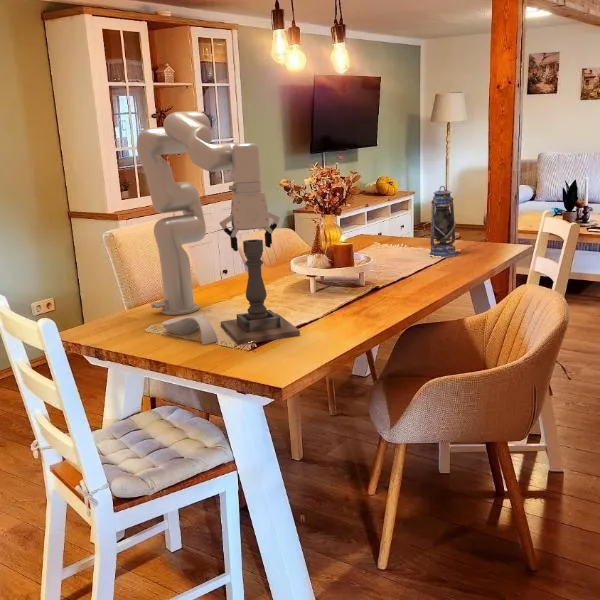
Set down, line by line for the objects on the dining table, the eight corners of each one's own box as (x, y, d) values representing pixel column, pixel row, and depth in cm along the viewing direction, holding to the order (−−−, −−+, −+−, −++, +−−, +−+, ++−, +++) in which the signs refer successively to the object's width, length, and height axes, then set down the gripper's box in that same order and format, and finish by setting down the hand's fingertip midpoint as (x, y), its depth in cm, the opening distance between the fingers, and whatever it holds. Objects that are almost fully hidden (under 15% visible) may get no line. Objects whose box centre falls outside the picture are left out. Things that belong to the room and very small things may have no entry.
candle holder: (270, 322, 205) (265, 238, 199) (267, 328, 199) (261, 242, 193) (249, 322, 206) (243, 239, 200) (245, 328, 200) (240, 243, 194)
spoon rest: (157, 332, 208) (154, 309, 207) (192, 324, 215) (189, 302, 213) (192, 349, 190) (190, 324, 188) (229, 339, 196) (227, 315, 194)
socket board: (238, 345, 190) (236, 329, 188) (220, 326, 210) (219, 311, 209) (300, 335, 195) (299, 320, 194) (277, 317, 215) (276, 303, 214)
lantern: (444, 251, 311) (443, 184, 304) (465, 254, 301) (465, 184, 294) (420, 256, 302) (418, 187, 295) (441, 259, 292) (440, 188, 285)
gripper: (220, 191, 187) (225, 254, 191) (281, 186, 192) (284, 247, 196) (214, 190, 194) (219, 250, 198) (273, 185, 199) (276, 243, 203)
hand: (251, 248), depth 197 cm, fingers open, 9 cm apart
